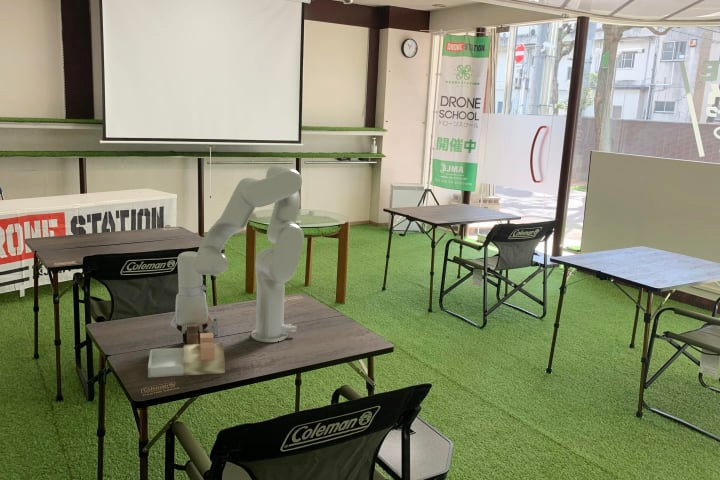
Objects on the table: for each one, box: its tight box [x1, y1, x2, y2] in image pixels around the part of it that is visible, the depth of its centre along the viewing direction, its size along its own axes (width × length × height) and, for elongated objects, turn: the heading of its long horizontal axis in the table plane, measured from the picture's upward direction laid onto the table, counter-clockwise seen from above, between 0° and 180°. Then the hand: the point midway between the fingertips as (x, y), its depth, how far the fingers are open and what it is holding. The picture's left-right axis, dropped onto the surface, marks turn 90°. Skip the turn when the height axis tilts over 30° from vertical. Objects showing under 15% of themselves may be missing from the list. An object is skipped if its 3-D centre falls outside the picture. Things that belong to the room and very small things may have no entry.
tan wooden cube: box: [201, 341, 215, 361], centre depth 190 cm, size 4×4×4 cm
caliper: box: [202, 317, 219, 336], centre depth 225 cm, size 20×1×6 cm, turn 39°
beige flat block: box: [183, 342, 226, 376], centre depth 194 cm, size 12×14×4 cm
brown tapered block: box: [186, 324, 199, 345], centre depth 206 cm, size 4×12×6 cm, turn 15°
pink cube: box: [200, 332, 214, 350], centre depth 197 cm, size 4×4×4 cm
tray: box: [147, 347, 185, 378], centre depth 191 cm, size 10×14×3 cm
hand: (192, 342), depth 207 cm, fingers closed on brown tapered block, 3 cm apart
